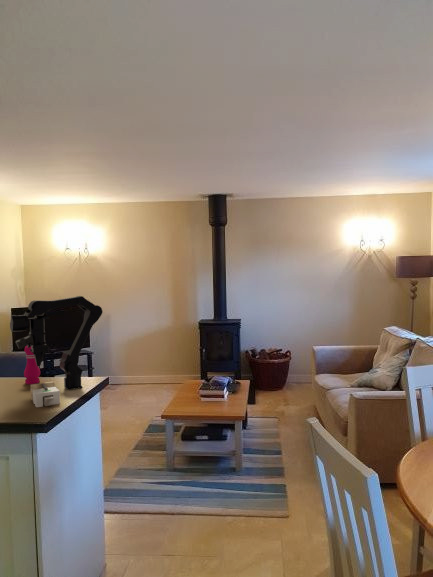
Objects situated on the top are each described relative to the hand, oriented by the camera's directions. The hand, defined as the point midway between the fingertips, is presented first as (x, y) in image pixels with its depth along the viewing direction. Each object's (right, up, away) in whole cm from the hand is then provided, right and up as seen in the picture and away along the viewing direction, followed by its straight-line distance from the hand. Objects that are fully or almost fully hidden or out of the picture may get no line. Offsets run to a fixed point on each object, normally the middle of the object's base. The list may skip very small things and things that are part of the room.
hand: (38, 366), depth 180 cm
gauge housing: (+9, -12, -14) cm, 20 cm away
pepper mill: (-12, -12, +21) cm, 26 cm away
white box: (+9, -12, -13) cm, 20 cm away
